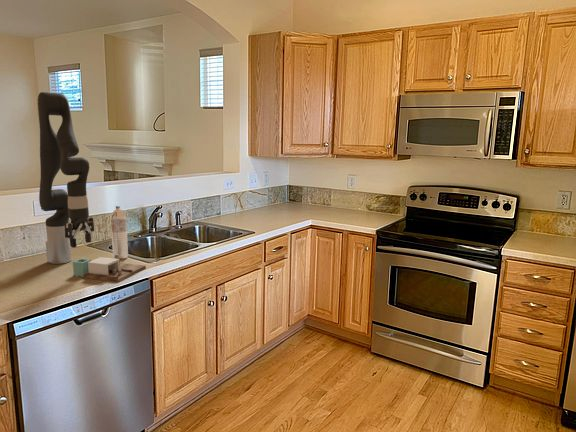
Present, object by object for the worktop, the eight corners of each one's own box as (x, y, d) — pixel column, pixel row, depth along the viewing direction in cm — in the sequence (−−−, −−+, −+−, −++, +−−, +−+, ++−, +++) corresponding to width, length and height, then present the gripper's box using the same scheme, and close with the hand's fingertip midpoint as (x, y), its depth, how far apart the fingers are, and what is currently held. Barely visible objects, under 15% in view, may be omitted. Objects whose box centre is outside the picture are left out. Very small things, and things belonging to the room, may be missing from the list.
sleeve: (73, 275, 183) (72, 261, 182) (82, 271, 188) (81, 258, 187) (83, 276, 182) (82, 262, 181) (92, 273, 187) (91, 259, 186)
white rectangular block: (88, 273, 181) (87, 262, 180) (101, 268, 189) (100, 257, 188) (107, 276, 179) (106, 264, 178) (119, 270, 186) (119, 259, 186)
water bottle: (113, 256, 212) (110, 205, 207) (128, 255, 214) (125, 204, 209) (112, 260, 206) (109, 207, 201) (128, 258, 208) (125, 207, 203)
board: (83, 277, 181) (82, 263, 180) (112, 264, 199) (112, 251, 198) (118, 282, 177) (117, 267, 176) (145, 268, 195) (145, 254, 194)
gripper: (82, 203, 187) (85, 240, 190) (57, 208, 174) (60, 248, 177) (97, 204, 185) (100, 241, 188) (73, 209, 172) (76, 249, 175)
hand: (81, 244), depth 183 cm, fingers open, 8 cm apart
